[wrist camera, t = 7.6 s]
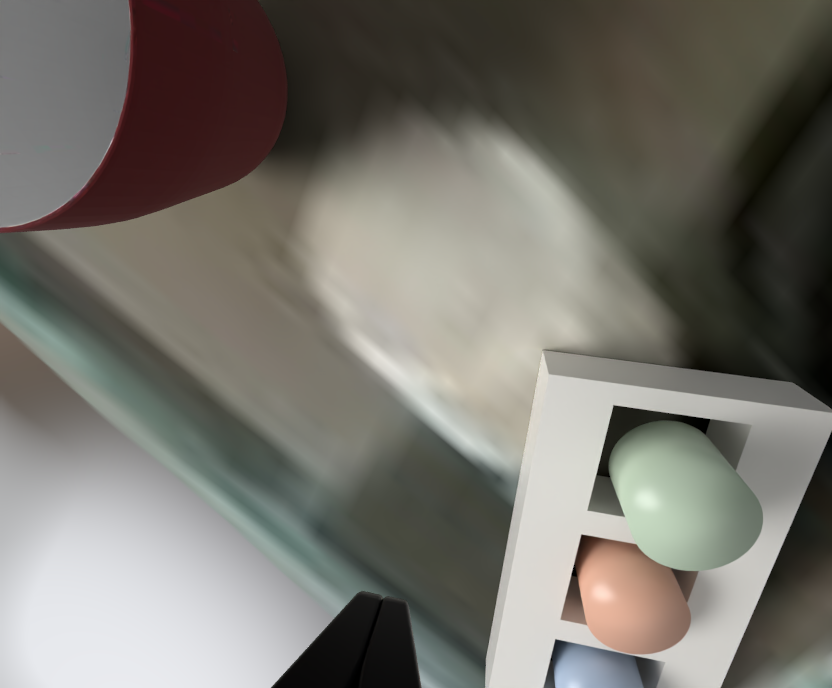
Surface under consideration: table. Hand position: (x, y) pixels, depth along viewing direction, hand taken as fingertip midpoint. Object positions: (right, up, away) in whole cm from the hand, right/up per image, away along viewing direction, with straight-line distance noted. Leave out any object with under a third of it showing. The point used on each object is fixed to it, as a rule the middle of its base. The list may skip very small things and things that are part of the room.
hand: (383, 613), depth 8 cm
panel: (+9, -4, +13) cm, 16 cm away
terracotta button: (+9, -4, +12) cm, 16 cm away
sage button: (+9, 0, +9) cm, 13 cm away
